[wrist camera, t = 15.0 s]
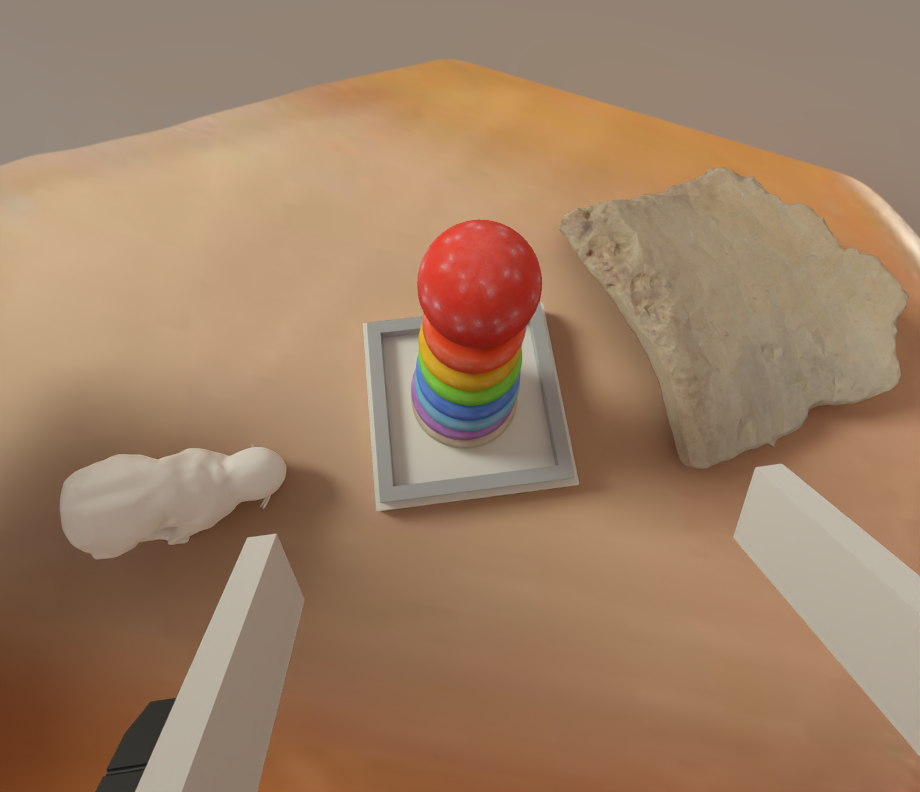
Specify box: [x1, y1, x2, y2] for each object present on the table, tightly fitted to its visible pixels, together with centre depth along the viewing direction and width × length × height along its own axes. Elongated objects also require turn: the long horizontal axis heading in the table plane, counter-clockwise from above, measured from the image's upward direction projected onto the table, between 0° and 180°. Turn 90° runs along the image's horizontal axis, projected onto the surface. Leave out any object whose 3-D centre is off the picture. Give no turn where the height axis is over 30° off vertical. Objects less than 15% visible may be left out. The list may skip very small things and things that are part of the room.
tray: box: [363, 303, 579, 511], centre depth 33 cm, size 15×15×2 cm
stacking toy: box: [411, 220, 542, 449], centre depth 24 cm, size 8×8×19 cm
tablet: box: [559, 168, 908, 469], centre depth 34 cm, size 24×8×20 cm
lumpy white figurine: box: [60, 444, 287, 559], centre depth 29 cm, size 6×8×12 cm
